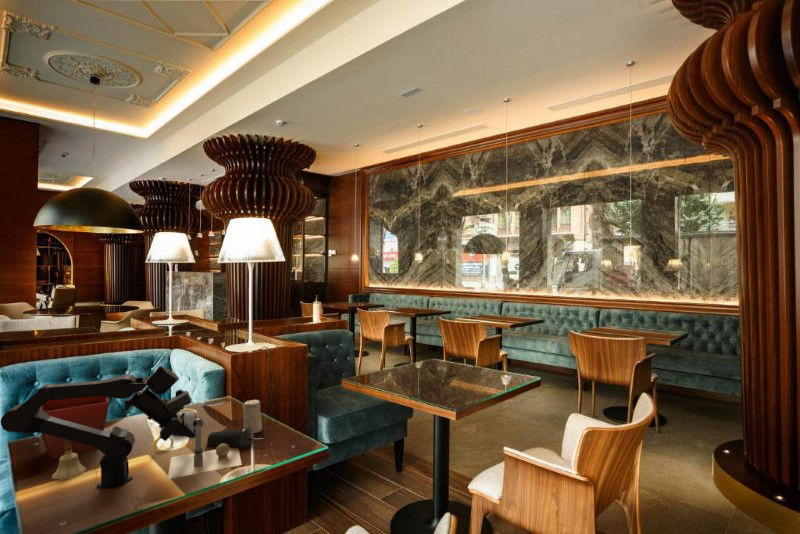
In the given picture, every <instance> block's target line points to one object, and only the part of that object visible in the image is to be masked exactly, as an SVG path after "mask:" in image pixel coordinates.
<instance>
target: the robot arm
mask: <svg viewBox="0 0 800 534" xmlns="http://www.w3.org/2000/svg"><path fill="white" fill-rule="evenodd" d="M179 380H180V377H179V375H177V374H176V373H175V372H174V371H173V370H171V369H168V368H167V367H164V366H163V365H159V366H158V367H157V368H156V370H155V371H153V373H152V374H151V375H150V376H149V377H135V376H134V374H133V375H132V374H122V375H119V376H114V377H110V378H107V379H103V380H93V381H83V382H82V381H81V382H68V383H56V384H54V383H47V384H44V385H42V386H41V387H40V388H38V389H37V391H36V392H35V393H34V394H33V395H32V396H30V397H29V398H28V399H27V400H26V401H25V402H23V403H20V404H17V405H15V406H13V407H12V408H11V409H9V410H8V411H7V412H5V413H4V414H3V415H2V417H1V418H0V425H1V428H2V430H3V431H6V432H9V433H17V434H18V433H19V434H33V433H34V434H36V433H38V434H39V433H40V434H41V433H43V434H47V435H50V436H54V437H58V438H62V439H66V440H69V441H73V442H77V443H81V444H85V445H88V446H92V447H95V448H97V450H98V451H99V452H101V454H103V455H102V457H101V459H100V461H99V466H100V482H99V483H97V484H96V485H95V487H97V488H103V489H117V488H119V487H121V486H122V485H124V484H126V483H127V482H128V481H130V480H132V479H133V478H134V477H133V476H132V475H129V474H130V473H129V468H130V467H129V466H130V465H129V458H128V456H129V455H130V454H131V452H132V451H133V447H134V446H135V442H136V438H135V435H134V434H133V432H130V430H129V429H127V428H125V429H124V428H120V427H119V426H116V425H114V426H113V428H112V430H104V431H102V430H98V429H95V428H91V427H87V426H84V425H80V424H77V423H73V422H69V421H66V420H62V419H59V418H55V417H51V416H49V415H48V414H46V413H45V412H44V411H43V410H41V409H39V408H40V407H41V406H42V405H44V404H45V403H46V402H47V401H49V400H59V399H70V398H82V397H94V396H103V397H108V399H120V400H123V399H124V401H123V402H124V411H127V412H128V410H129V409H131V407H132V406H133V407H134V408H136V409H137V410H138V411H140V412H141V413H142V414H143V415H145V416H147V420H149V421H151V420H153V421H154V422H155V423H157V424H158V427H159V429H160V431H159V435H160V438H161V439H162V440H163V441H165V442H166V441H168V439H170V438H169V437H170V436H171V437H172V436H177V437H184V438H190V439H191V438H192V439H195V430H192V429H191V428H190V426H189V425H188V424H187V422H186V421H185V412H186V411H184V409H185V406H188V405H190V404H191V403H192V402H193V401H192V400H193V399H192V397H191V395H190V393H189V391H188V390H182V389H178V390H176V391H175V396H173V397H172V398H171V399H167V398H161V397H160V396H159V395H161V394H163V395H166V394H167V392H168V391H169V390H170V389H171V388H172V387H174V385H175V384H176V383H177V382H178V381H179ZM131 396H132V397H131ZM181 410H183V412H184V413H183V414H182V415H181V416H180V415H177V413H178V412H181Z"/></svg>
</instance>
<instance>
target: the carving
mask: <svg viewBox="0 0 800 534" xmlns="http://www.w3.org/2000/svg"><path fill="white" fill-rule="evenodd" d="M242 406H243V407H242V408H243V409H242V412H243V414H242V415H243V429H245V428H250V429H251V430H252V432H253V434H256V433H259V432H261V431H262V430H263V427H262V426H263V425H262V414H261V412H262V411H261V401H260V400H259V399H252V400H246V401H245V402H244V403H243V404H242Z"/></svg>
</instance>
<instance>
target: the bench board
mask: <svg viewBox="0 0 800 534" xmlns="http://www.w3.org/2000/svg"><path fill="white" fill-rule="evenodd" d="M240 455H241V454H240V449H238V448H230V447H229V453H228V454H227V459H223V460H218V455H217V454H216V449H211V450H205V451H203V445H201V453H200V454H195V447H194V448H193V453H189V454H182V455H177V456H171V457H170V463H169V467H168V468H169V470H168V472H167V480H171V479H177V478H181V477H186V476H192V475H197V474H202V473H206V472H207V473H208V472H212V471H213V472H214V471H217V470H222V469H228V468H233V467H238V466H242V459H241V456H240Z"/></svg>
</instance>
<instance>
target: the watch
mask: <svg viewBox="0 0 800 534" xmlns="http://www.w3.org/2000/svg"><path fill="white" fill-rule="evenodd" d="M161 439H162V438H160V434H159V435H158V437H157V438H155V440H154V442H153V446H152V448H153V450H154V452H156V451H157V444H158V442H159V441H160V440H161ZM168 439H170V446H171V447H173V446H174V439H173V437H172V435H171V436H170V437H169V438H168Z"/></svg>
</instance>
